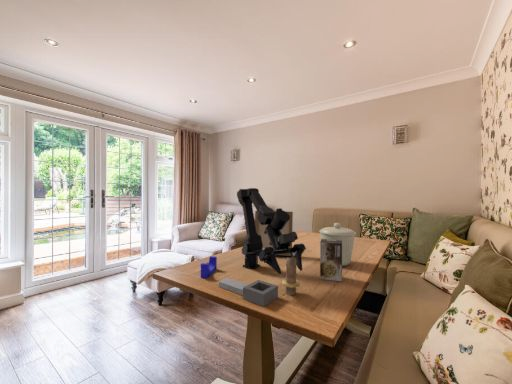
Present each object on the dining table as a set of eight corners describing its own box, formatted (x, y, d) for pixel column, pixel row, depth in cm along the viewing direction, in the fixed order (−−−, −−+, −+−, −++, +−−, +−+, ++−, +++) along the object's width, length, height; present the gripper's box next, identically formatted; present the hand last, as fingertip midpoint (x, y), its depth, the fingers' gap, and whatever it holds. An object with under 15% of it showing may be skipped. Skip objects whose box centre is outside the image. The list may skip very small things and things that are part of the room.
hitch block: (230, 281, 99) (231, 271, 99) (277, 297, 86) (278, 285, 85) (215, 288, 92) (215, 277, 92) (263, 306, 79) (263, 294, 78)
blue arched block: (207, 268, 115) (207, 256, 115) (216, 269, 114) (216, 256, 114) (197, 277, 103) (197, 263, 103) (207, 278, 102) (207, 264, 102)
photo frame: (291, 257, 134) (292, 212, 134) (253, 255, 137) (253, 211, 137) (292, 251, 148) (292, 210, 148) (257, 249, 152) (257, 209, 152)
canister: (320, 267, 118) (320, 224, 117) (317, 257, 136) (318, 219, 135) (359, 270, 115) (360, 226, 114) (351, 259, 132) (352, 220, 132)
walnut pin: (287, 288, 93) (288, 254, 93) (302, 292, 89) (303, 257, 89) (278, 293, 88) (279, 258, 88) (294, 299, 84) (295, 262, 84)
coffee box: (341, 276, 106) (342, 240, 106) (342, 282, 100) (342, 243, 100) (320, 274, 109) (321, 238, 109) (319, 279, 103) (320, 241, 103)
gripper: (262, 226, 89) (278, 264, 79) (303, 223, 97) (322, 257, 87) (253, 243, 96) (266, 280, 86) (291, 239, 104) (307, 272, 95)
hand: (291, 272), depth 88 cm, fingers open, 9 cm apart
